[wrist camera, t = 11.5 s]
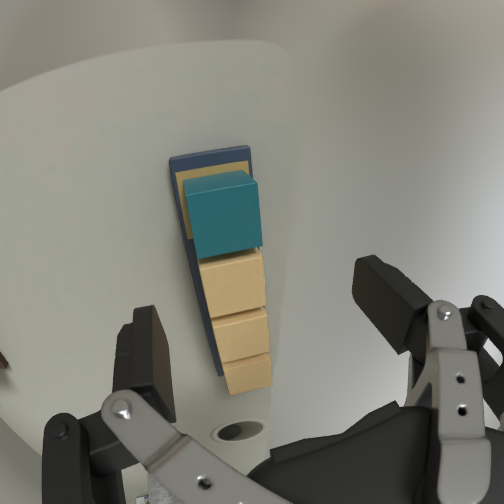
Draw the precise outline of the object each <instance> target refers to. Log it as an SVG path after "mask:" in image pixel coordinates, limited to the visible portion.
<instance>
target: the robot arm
mask: <svg viewBox="0 0 504 504" xmlns="http://www.w3.org/2000/svg"><path fill="white" fill-rule="evenodd" d="M352 295H353V298H354V301H355V303H356V304H357V305H358V306H359V307H360V309H361V310H362V311H363V312H364V313H365V315H366V316H367V317H368V318H369V319H370V321H371V322H372V323H373V324H374V325H375V327H376V328H377V329H378V330H379V332H380V333H381V334H382V335H383V336H384V338H385V339H386V340H387V341H388V342H389V344H390V345H391V346H392V348H393V349H394V350H395V351H396V352H397V354H398V355H399V354H401V353H404V352H406V351H408V350H409V351H410V352H411V354H410V357H409V370H408V389H407V397H406V401H405V404H404V407H399V405H398V404H397V402H396V401H393V402H391V403H389V404H387V405H385V406H383V407H381V408H378V409H376V410H374V411H372V412H370V413H368V414H367V415H366V416H364V417H363V418H362V419H361V420H359V421H358V422H357V423H355V424H354V425H353V426H351V427H350V428H349V429H347V430H346V431H345V432H343V433H341V434H337V435H331V436H323V437H316V438H308V439H302V440H299V441H296V442H293V443H290V444H287V445H284V446H280V447H276V448H273V449H270V458H268V459H266V460H264V461H263V462H261V463H260V464H259V465H257V466H256V467H255V468H254V469H253V470H251V471H250V472H249V473H248V475H247V476H245V475H244V474H242V473H240V472H239V471H237V470H236V469H234V468H233V467H231V466H230V465H229V464H227V463H226V462H224V461H223V460H221V459H220V458H219V457H217V456H216V455H214V454H213V453H212V452H210V451H209V450H208V449H206V448H205V447H204V446H202V445H201V444H200V443H198V442H197V441H196V440H195V439H193V438H192V437H190V436H189V435H187V434H182V433H181V432H180V431H178V430H177V429H176V428H175V427H174V426H172V425H171V424H170V423H175V422H176V415H175V406H174V398H173V388H172V378H171V367H170V355H169V346H168V341H167V338H166V335H165V332H164V329H163V327H162V324H161V321H160V319H159V316H158V313H157V311H156V308H155V306H154V305H150V306H145V307H140V308H135V309H134V312H133V323H130V324H125V325H123V327H122V329H121V330H120V332H119V334H118V336H117V344H116V347H117V349H116V353H115V356H116V358H115V364H114V375H113V389H112V394H110V395H109V396H108V397H107V398H106V399H105V401H104V402H103V404H102V407H101V410H100V411H98V412H96V413H94V414H91V415H89V416H86V417H84V418H81V419H78V420H77V419H76V418H75V417H74V416H73V415H71V414H69V413H59V414H56V415H55V416H53V417H52V418H51V419H50V420H49V421H48V422H47V424H46V426H45V429H44V437H43V452H42V504H126V500H125V494H124V488H123V481H122V473H121V470H122V469H125V468H127V467H130V466H132V465H135V464H137V463H141V464H142V465H143V466H144V467H145V469H146V471H147V472H148V473H149V474H150V475H151V476H152V477H153V478H154V479H155V480H156V481H157V482H158V483H159V484H161V485H162V486H163V487H164V488H165V489H166V490H167V491H168V492H169V493H170V494H172V495H173V496H174V497H175V498H176V499H177V500H178V501H180V502H181V503H182V504H504V308H502V307H501V306H500V305H499V304H498V303H497V302H496V301H495V300H494V299H492V298H490V297H488V296H484V295H479V296H476V297H475V298H474V299H473V301H472V304H471V307H467V308H460V309H458V308H457V307H456V306H455V305H453V304H452V303H450V302H447V301H443V300H437V301H433V300H432V299H431V298H430V297H429V296H428V295H427V294H425V293H424V292H423V291H422V290H421V289H420V288H419V287H418V286H417V285H415V284H414V283H413V282H411V280H410V279H409V278H408V277H405V275H404V274H403V273H402V272H401V271H400V270H398V269H397V268H395V267H393V266H391V265H389V264H387V263H384V262H383V261H382V260H380V259H379V258H378V257H377V256H376V255H370V256H366V257H362V258H358V259H357V260H356V262H355V268H354V277H353V285H352ZM488 338H489V339H490V340H491V341H492V343H493V344H494V345H495V346H496V347H497V348H498V349H499V351H500V352H501V353H502V356H503V362H502V364H501V366H500V367H499V365H498V364H497V363H496V362H495V361H494V359H493V358H492V357H491V356H490V355H489V354H488V352H487V351H486V350H485V349H484V348H483V346H484V344H485V342H486V340H487V339H488ZM483 398H484V400H485V401H486V403H487V404H488V405H489V406H490V408H491V410H492V411H493V412H494V414H495V415H496V417H497V418H498V420H499V421H500V425H501V426H500V427H499V428H498V430H496V429H492V428H489V427H485V422H484V406H483Z"/></svg>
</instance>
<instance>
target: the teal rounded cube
mask: <svg viewBox="0 0 504 504" xmlns="http://www.w3.org/2000/svg"><path fill="white" fill-rule="evenodd" d="M183 183H184V190H185V197H186V203H187V208H188V213H189V219H190V224H191V229H192V234H193V240H194V245H195V249H196V254H197V259H201V258H206V257H211V256H216V255H221V254H226V253H230V252H235V251H240V250H245V249H250V248H255V247H260V246H262V245H263V244H262V232H261V220H260V208H259V197H258V185H257V182H256V181H255V180H254V179H252V178H251V177H250V176H249V175H248V174H247V173H246V172H245V171H244V170H238V171H231V172H225V173H219V174H213V175H207V176H202V177H196V178H191V179H186V180H183Z"/></svg>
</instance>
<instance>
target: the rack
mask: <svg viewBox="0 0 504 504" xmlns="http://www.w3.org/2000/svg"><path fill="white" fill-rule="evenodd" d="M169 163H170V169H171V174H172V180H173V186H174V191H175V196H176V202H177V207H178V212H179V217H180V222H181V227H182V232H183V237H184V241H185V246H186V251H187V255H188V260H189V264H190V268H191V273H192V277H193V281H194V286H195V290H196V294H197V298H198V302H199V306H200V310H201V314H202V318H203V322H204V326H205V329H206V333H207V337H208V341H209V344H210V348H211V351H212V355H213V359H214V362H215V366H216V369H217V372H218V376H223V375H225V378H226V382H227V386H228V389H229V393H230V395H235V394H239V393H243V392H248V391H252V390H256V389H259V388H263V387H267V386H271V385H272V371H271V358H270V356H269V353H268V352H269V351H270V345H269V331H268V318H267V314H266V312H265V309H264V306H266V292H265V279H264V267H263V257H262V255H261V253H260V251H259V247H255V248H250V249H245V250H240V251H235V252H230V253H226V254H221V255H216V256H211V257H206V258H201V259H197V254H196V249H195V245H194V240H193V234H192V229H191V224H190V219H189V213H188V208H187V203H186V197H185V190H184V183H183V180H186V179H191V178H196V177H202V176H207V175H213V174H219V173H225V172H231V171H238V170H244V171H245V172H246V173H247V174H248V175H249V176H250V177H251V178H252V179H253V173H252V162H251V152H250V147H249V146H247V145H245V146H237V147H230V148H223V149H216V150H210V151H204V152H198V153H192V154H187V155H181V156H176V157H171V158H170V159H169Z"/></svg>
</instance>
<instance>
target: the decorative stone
mask: <svg viewBox="0 0 504 504" xmlns="http://www.w3.org/2000/svg"><path fill="white" fill-rule="evenodd" d="M148 493H149V501H150V504H182V503H181V502H180V501H178V500H177V499H176V498H175V497H174V496H173V495H172V494H170V493H169V492H168V491H167V490H166V489H165V488H164V487H163V486H162V485H161V484H159V483H158V482H157V481H156V480H155V479H154V478H153V477H152V476H151V475H150V474H149V473H148Z"/></svg>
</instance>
